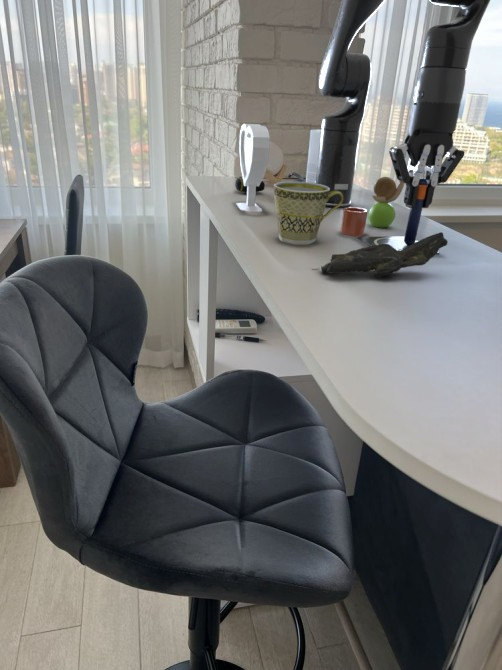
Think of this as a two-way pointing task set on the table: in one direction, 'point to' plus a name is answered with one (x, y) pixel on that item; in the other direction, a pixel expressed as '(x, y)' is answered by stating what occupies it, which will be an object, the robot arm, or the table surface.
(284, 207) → the ceramic cup
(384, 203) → the snail figurine
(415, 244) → the dark brown elongated chunk
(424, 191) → the marker
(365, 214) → the pen pot
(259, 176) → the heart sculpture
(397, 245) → the shiny silver plate
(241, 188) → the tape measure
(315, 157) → the cosmetic box
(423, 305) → the table surface
